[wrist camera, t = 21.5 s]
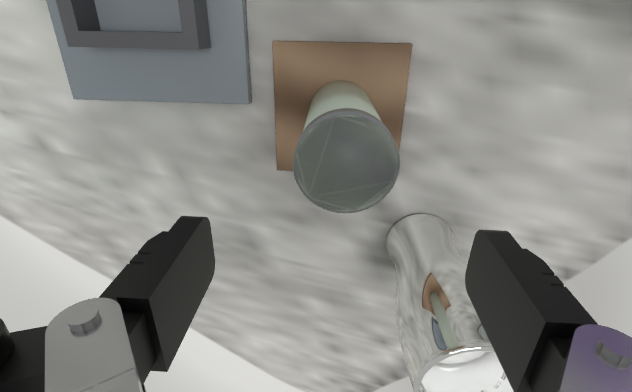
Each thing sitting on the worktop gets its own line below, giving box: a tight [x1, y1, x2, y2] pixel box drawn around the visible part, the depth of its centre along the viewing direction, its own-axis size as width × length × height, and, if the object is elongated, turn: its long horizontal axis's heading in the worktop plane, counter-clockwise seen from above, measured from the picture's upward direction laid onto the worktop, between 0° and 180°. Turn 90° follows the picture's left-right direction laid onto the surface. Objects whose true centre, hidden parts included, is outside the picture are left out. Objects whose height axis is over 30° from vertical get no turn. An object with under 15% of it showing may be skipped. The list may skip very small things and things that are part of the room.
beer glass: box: [386, 214, 514, 392], centre depth 26 cm, size 7×7×15 cm
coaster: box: [273, 41, 412, 171], centre depth 28 cm, size 10×10×1 cm
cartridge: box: [293, 80, 400, 213], centre depth 22 cm, size 5×5×12 cm
